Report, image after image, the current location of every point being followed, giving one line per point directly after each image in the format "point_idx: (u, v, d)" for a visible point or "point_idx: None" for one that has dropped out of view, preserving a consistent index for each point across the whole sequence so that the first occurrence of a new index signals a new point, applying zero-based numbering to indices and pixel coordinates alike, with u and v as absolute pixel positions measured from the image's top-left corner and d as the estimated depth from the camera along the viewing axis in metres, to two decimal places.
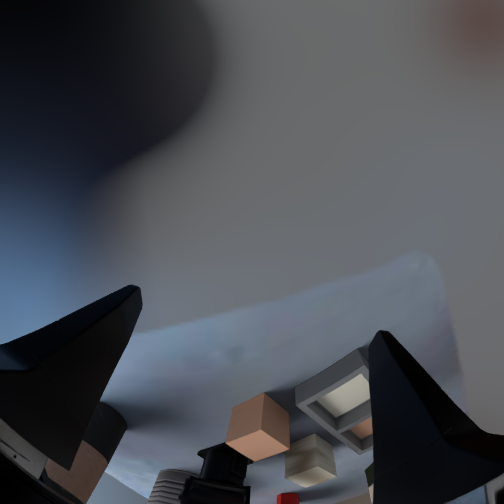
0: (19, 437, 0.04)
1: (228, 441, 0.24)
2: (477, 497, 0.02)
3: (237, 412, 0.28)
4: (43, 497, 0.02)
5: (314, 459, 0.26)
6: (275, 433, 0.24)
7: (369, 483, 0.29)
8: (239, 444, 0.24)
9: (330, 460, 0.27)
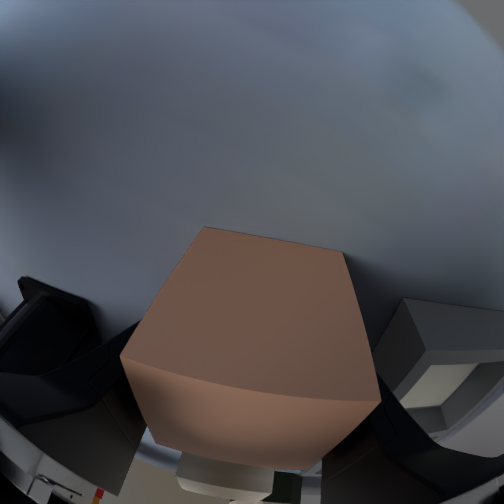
0: (72, 474, 0.03)
1: (141, 359, 0.04)
2: None
3: (222, 249, 0.08)
4: None
5: (266, 472, 0.11)
6: None
7: None
8: (177, 400, 0.05)
9: None
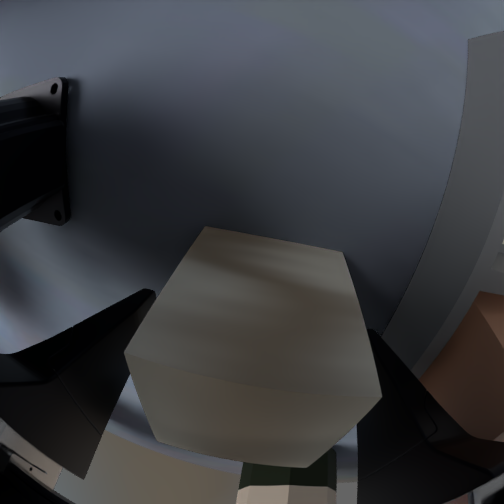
0: (34, 449, 0.04)
1: None
2: None
3: (490, 306, 0.07)
4: (43, 497, 0.02)
5: (355, 349, 0.05)
6: None
7: (256, 478, 0.15)
8: None
9: None
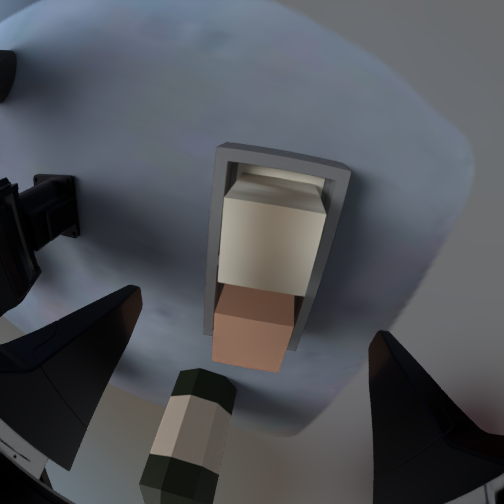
0: (19, 437, 0.04)
1: (221, 313, 0.17)
2: (477, 497, 0.02)
3: None
4: (43, 497, 0.02)
5: (315, 204, 0.14)
6: None
7: (175, 391, 0.29)
8: (230, 327, 0.17)
9: None
